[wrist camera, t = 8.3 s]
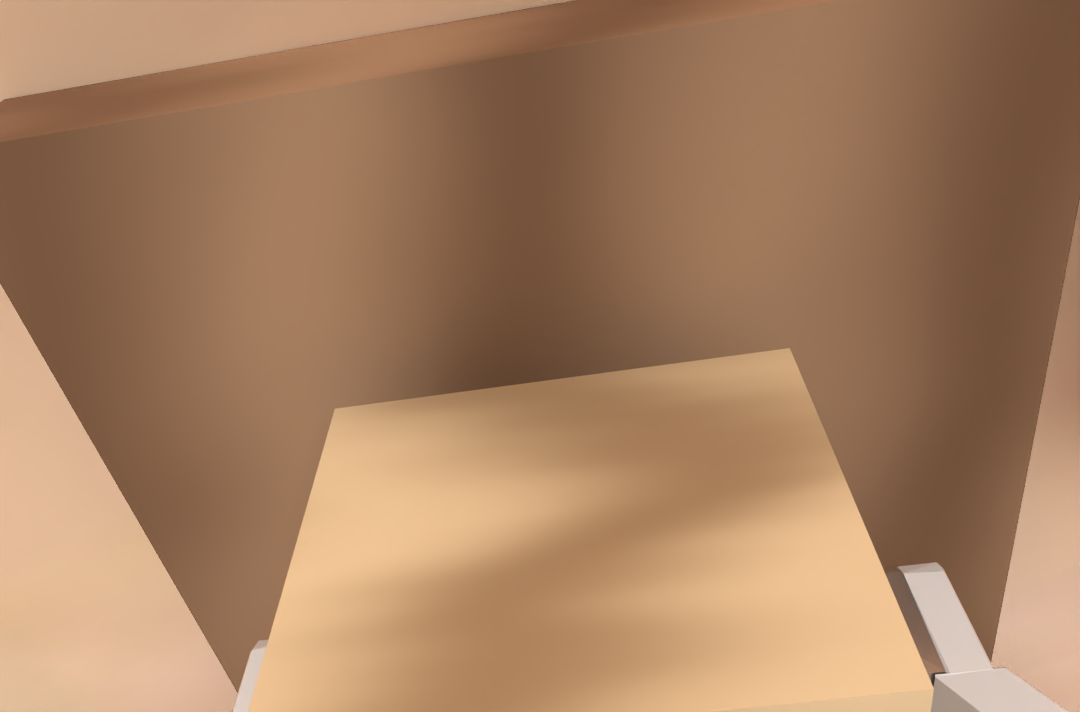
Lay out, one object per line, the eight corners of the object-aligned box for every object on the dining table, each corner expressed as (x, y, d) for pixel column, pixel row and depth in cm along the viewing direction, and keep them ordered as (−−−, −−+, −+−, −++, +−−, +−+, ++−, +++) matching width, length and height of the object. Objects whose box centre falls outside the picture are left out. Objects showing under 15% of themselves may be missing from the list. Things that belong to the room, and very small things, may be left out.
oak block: (789, 348, 12) (934, 688, 7) (790, 644, 15) (889, 993, 11) (334, 408, 12) (234, 760, 8) (434, 682, 15) (399, 1029, 11)
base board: (1040, -81, 11) (1126, -50, 10) (942, 628, 19) (981, 712, 18) (4, 99, 13) (-74, 154, 11) (309, 700, 20) (290, 784, 19)
